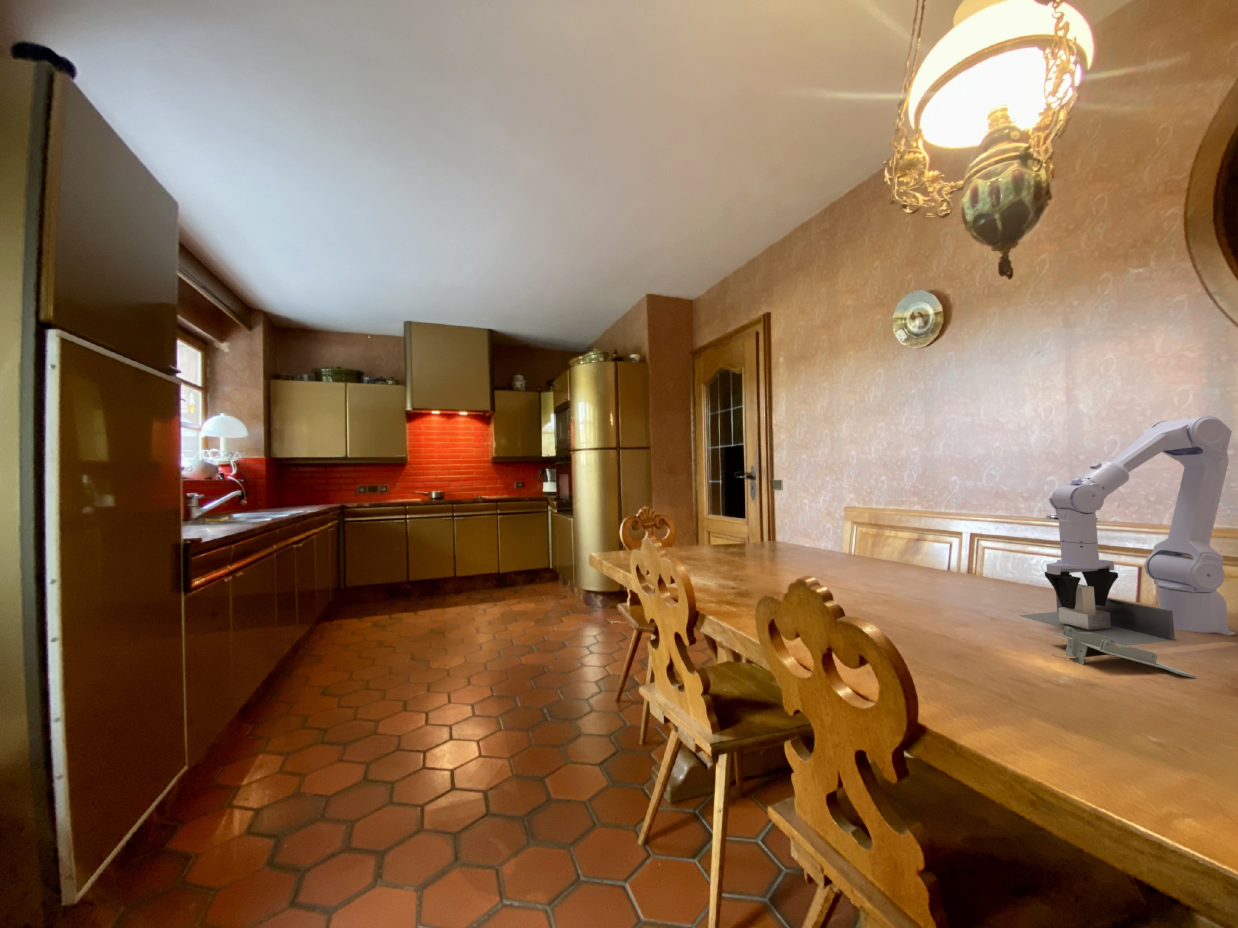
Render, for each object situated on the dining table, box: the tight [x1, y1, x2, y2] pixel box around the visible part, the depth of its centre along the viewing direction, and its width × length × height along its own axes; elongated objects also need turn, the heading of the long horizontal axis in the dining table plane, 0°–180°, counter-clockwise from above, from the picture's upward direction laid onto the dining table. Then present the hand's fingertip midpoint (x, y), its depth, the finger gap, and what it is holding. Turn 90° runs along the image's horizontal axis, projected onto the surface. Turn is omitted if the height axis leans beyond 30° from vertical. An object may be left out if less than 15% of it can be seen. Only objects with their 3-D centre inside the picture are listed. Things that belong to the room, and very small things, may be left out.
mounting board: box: [1019, 611, 1177, 646], centre depth 98 cm, size 12×20×1 cm, turn 9°
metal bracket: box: [1051, 626, 1197, 679], centre depth 83 cm, size 14×6×15 cm
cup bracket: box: [1055, 593, 1176, 641], centre depth 98 cm, size 10×20×6 cm, turn 9°
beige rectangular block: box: [1068, 584, 1096, 614], centre depth 98 cm, size 3×3×8 cm
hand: (1083, 606), depth 98 cm, fingers open, 7 cm apart
